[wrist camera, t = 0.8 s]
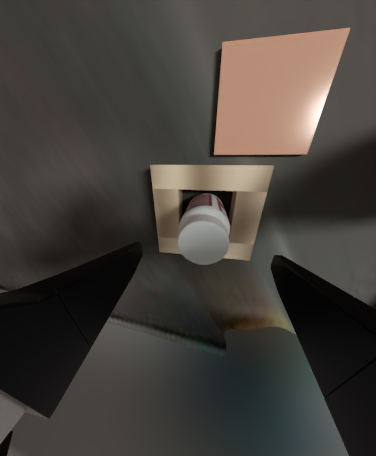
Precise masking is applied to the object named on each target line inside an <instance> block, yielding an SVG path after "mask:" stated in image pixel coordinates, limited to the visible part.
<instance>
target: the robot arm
mask: <svg viewBox="0 0 376 456" xmlns="http://www.w3.org/2000/svg"><path fill="white" fill-rule="evenodd" d="M142 255H143V251H142V245H141V243H137V242H135V243H132V244H130V245H128V246H125V247H123V248H120V249H118V250H116V251H113V252H111V253H109V254H106V255H104V256H101V257H99V258H97V259H94V260H92V261H90V262H87V263H85V264H83V265H80V266H78V267H75V268H73V269H70V270H68V271H65V272H63V273H60V274H58V275H55V276H52V277H50V278H47V279H44V280H42V281H39V282H36V283H33V284H31V285H28V286H25V287H23V288H20V289H17V290H13V291H9V292H3V293H0V456H7V453H8V449H9V445H10V441H11V437H12V433H13V431H11V429H12V428H13V426H14V425H15V424H16V423H17V421H18V420H19V419H20V417H21V416H22V415H23V413H24V412H27V413H30V414H33V415H36V416H40V417H43V418H47V419H49V418H50V417H51V415H52V414H53V412H54V411H55V409H56V407H57V406H58V404H59V402H60V400H61V399H62V397H63V395H64V393H65V392H66V390H67V388H68V387H69V385H70V383H71V382H72V380H73V378H74V376H75V375H76V373H77V371H78V370H79V368H80V366H81V364H82V363H83V361H84V359H85V358H86V356H87V354H88V352H89V350H90V349H91V347H92V345H93V344H94V342H95V340H96V338H97V337H98V335H99V333H100V332H101V330H102V328H103V326H104V325H105V323H106V321H107V319H108V318H109V316H110V314H111V313H112V311H113V309H114V307H115V306H116V304H117V302H118V301H119V299H120V297H121V295H122V294H123V292H124V290H125V289H126V287H127V285H128V283H129V282H130V280H131V278H132V277H133V275H134V273H135V271H136V269H137V266H138V264H139V262H140V260H141V257H142ZM271 271H272V274H273V278H274V281H275V284H276V287H277V290H278V293H279V295H280V298H281V300H282V302H283V304H284V307H285V309H286V311H287V314H288V316H289V318H290V321H291V323H292V325H293V327H294V330H295V332H296V334H297V337H298V339H299V341H300V344H301V346H302V348H303V350H304V353H305V355H306V357H307V360H308V362H309V364H310V366H311V369H312V371H313V373H314V376H315V378H316V380H317V383H318V385H319V387H320V390H321V392H322V394H323V396H324V397H325V398H324V399H325V401H326V404H327V406H328V408H329V411H330V413H331V415H332V417H333V419H334V422H335V424H336V427H337V429H338V431H339V434H340V436H341V438H342V440H343V443H344V445H345V447H346V450H347V452H348V454H349V456H376V309H375V308H373V307H371V306H369V305H367V304H366V303H364V302H362V301H360V300H359V299H357V298H354V297H353V296H352V295H350V294H348V293H346V292H345V291H343V290H341V289H340V288H338V287H336V286H334V285H333V284H331V283H329V282H327V281H326V280H324V279H322V278H320V277H319V276H317V275H315V274H313V273H312V272H310V271H308V270H306V269H305V268H303V267H301V266H299V265H298V264H296V263H294V262H293V261H291V260H289V259H287V258H286V257H284V256H281V255H275V256H274V257H273V260H272V263H271Z"/></svg>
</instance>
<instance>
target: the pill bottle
mask: <svg viewBox="0 0 376 456" xmlns="http://www.w3.org/2000/svg"><path fill="white" fill-rule="evenodd" d="M229 234H230V223H229V220H228V218H227V215H226V212H225V209H224V206H223V204H222V202H221V200H220V199H219V198H218V197H217V196H215V195H213V194H209V193H203V194H199V195H197V196H195V197H194V198H193V199H192V200H191V201H190V203H189V205H188V207H187V209H186V211H185V213H184V215H183V217H182V219H181V221H180V224H179V235H178V248H179V250H180V252H181V254H182V255H183V256H184V257H185V258H186V259H188V260H189V261H191V262H193V263H196V264H201V265H208V264H212V263H215V262H217V261H219V260H221V259H222V258H223V257H224V256H225V255H226V253H227V251H228V248H229Z"/></svg>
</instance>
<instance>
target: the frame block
mask: <svg viewBox="0 0 376 456" xmlns="http://www.w3.org/2000/svg"><path fill="white" fill-rule="evenodd" d="M273 168H274V166H268V165H150V169H151V178H152V187H153V196H154V206H155V215H156V224H157V233H158V243H159V252H165V253H176V254H181V252H180V250H179V248H178V235H179V224H180V221H181V219H182V217H183V198H182V190H213V191H233V193H232V200H231V207H230V213H229V223H230V234H229V248H228V251H227V253H226V255H225V256H224V257H223V258H228V259H239V260H249V261H250V257H251V253H252V249H253V245H254V241H255V238H256V234H257V230H258V226H259V222H260V218H261V214H262V210H263V207H264V203H265V199H266V195H267V191H268V187H269V183H270V179H271V176H272V172H273Z"/></svg>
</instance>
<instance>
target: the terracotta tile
mask: <svg viewBox="0 0 376 456" xmlns="http://www.w3.org/2000/svg"><path fill="white" fill-rule="evenodd" d="M349 31H350V28H343V29H334V30H325V31H317V32H308V33H299V34H290V35H281V36H272V37H263V38H255V39H246V40H237V41H228V42H223V44H222V56H221V69H220V82H219V94H218V107H217V120H216V133H215V146H214V155H306V154H307V153H308V150H309V147H310V144H311V141H312V138H313V135H314V133H315V130H316V127H317V124H318V121H319V118H320V115H321V112H322V109H323V106H324V104H325V101H326V98H327V95H328V92H329V89H330V86H331V83H332V80H333V77H334V74H335V72H336V69H337V66H338V63H339V60H340V57H341V54H342V51H343V48H344V45H345V42H346V40H347V37H348V34H349Z"/></svg>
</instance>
